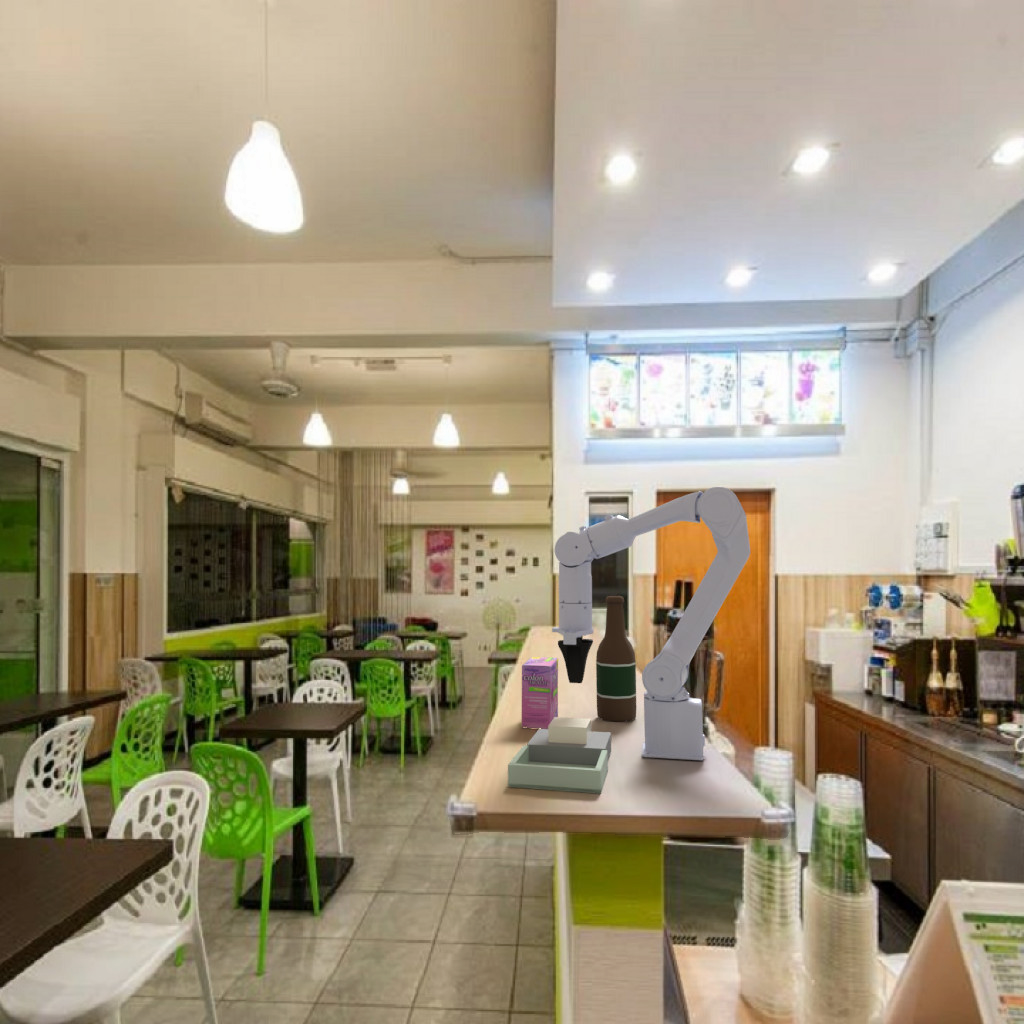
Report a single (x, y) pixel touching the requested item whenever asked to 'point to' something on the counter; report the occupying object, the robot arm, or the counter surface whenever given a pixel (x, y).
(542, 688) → the box
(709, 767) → the counter surface
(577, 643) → the robot arm
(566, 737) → the tile
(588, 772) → the bin
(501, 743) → the counter surface
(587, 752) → the bench plate
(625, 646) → the beer bottle
